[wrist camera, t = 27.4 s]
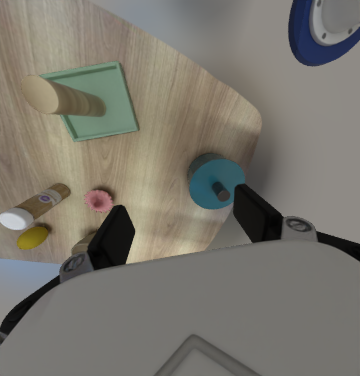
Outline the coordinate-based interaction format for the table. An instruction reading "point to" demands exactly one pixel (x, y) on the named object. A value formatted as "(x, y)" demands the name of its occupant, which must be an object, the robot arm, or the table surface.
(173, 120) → the table surface
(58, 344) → the robot arm
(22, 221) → the sprinkles bottle
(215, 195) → the pot lid
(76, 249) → the bowl
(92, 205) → the flower
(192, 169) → the pot
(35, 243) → the lemon
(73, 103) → the stick
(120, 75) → the tray
